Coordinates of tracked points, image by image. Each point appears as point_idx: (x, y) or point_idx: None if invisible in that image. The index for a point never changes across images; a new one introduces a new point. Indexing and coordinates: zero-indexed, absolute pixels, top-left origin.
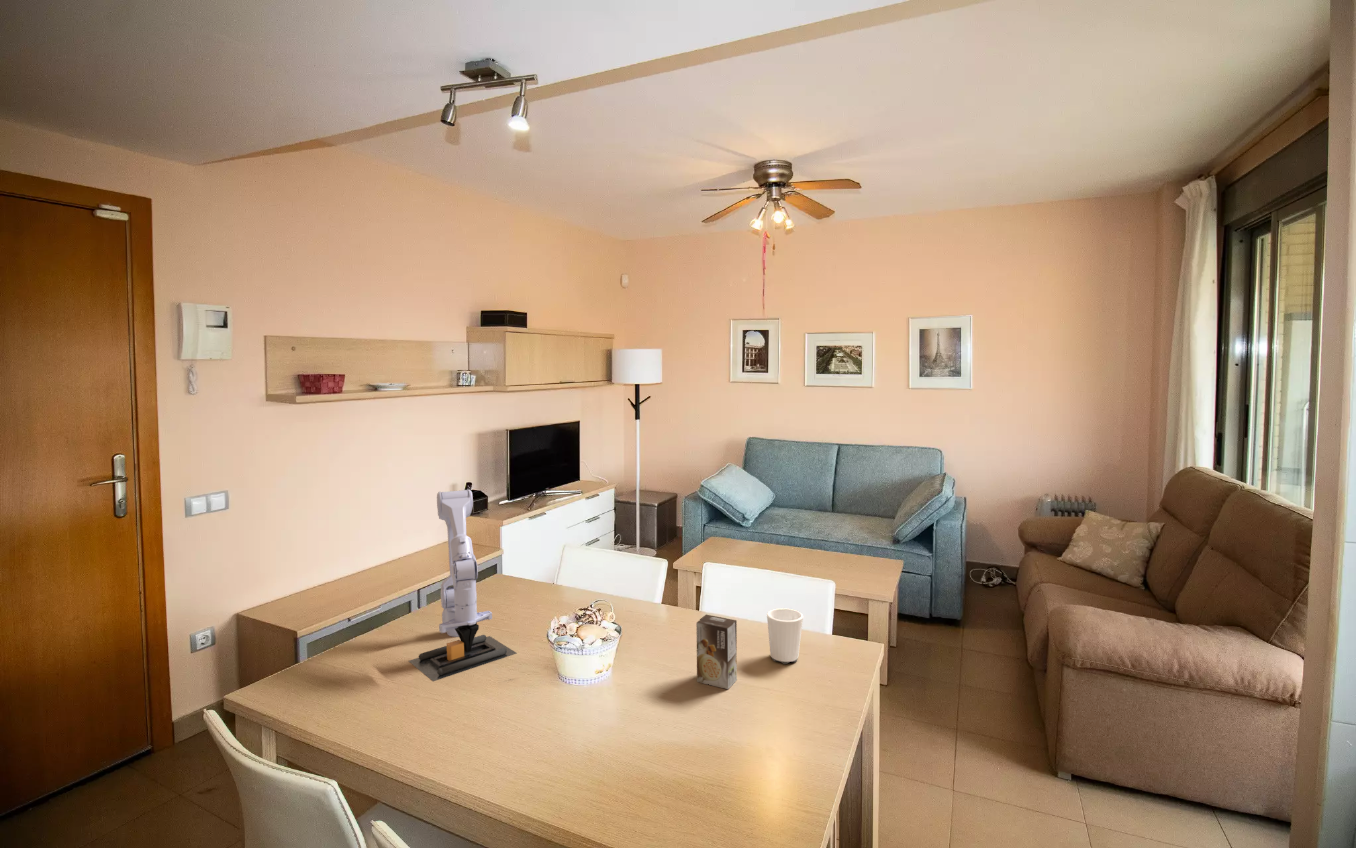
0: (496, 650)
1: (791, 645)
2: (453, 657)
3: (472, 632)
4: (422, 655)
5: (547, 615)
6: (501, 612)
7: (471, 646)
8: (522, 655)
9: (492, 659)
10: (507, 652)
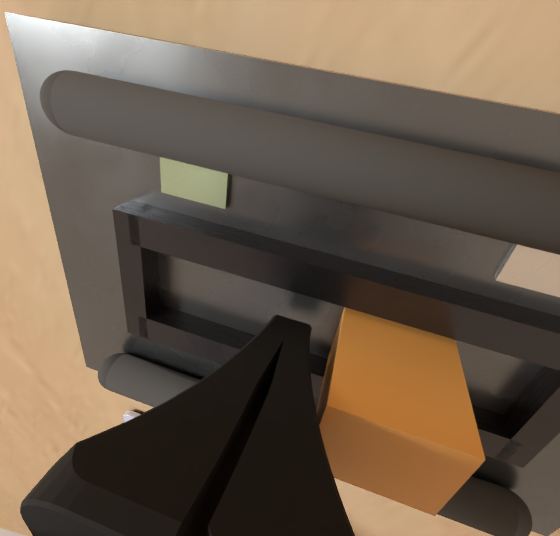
0: (122, 118)
1: None
2: (439, 353)
3: (189, 456)
4: (521, 524)
5: None
6: (5, 438)
7: (262, 333)
8: (5, 37)
9: (210, 95)
10: None
